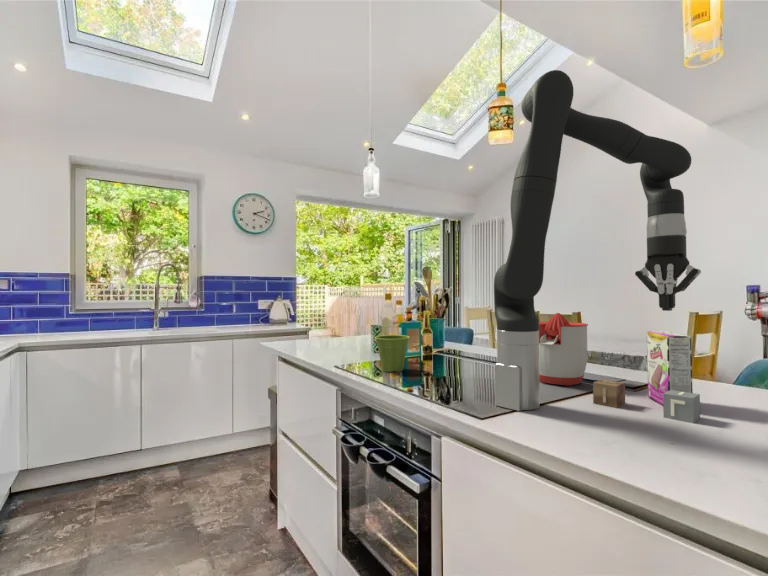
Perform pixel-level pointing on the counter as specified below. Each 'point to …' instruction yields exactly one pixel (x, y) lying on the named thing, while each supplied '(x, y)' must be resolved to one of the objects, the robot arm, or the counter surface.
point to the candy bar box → (668, 363)
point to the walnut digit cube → (609, 393)
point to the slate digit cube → (681, 406)
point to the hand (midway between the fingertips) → (667, 310)
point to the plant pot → (392, 351)
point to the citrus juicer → (562, 351)
